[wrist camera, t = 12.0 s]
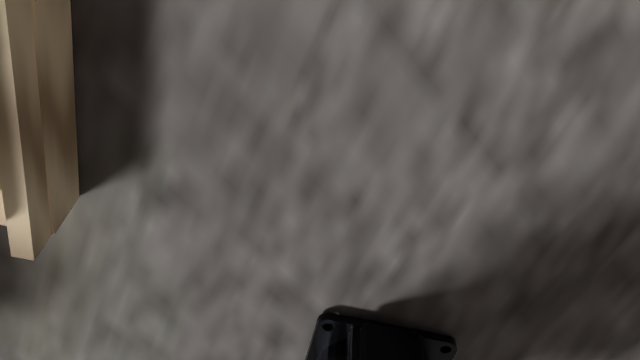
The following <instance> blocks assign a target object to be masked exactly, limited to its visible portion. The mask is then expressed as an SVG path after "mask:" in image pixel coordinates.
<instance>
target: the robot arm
mask: <svg viewBox="0 0 640 360" xmlns="http://www.w3.org/2000/svg"><path fill="white" fill-rule="evenodd" d="M456 350H457V347H456V341H455V339H454V338H453V337H450V336H447V335H442V334H436V333H431V332H426V331H421V330H415V329H410V328H405V327H400V326H395V325H389V324H384V323H379V322H374V321H369V320H363V319H358V318H353V317H348V316H342V315H337V314H332V313H324V314H321V315H320V316H319V317H318V319H317V322H316V326H315V329H314V332H313V336H312V339H311V342H310V346H309V349H308V352H307V356H306V359H305V360H452V359H453V357H454V355H455V353H456Z"/></svg>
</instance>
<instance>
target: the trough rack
mask: <svg viewBox="0 0 640 360" xmlns="http://www.w3.org/2000/svg"><path fill="white" fill-rule="evenodd" d="M78 198H79V175H78V153H77V131H76V110H75V88H74V66H73V45H72V23H71V1H70V0H0V225H4V226H7V231H8V238H9V245H10V252H11V256H12V257H17V258H23V259H28V260H33V261H34V260H35V258H36V257H37V255H38V254H39V252H40V251H41V249H42V248H43V246H44V245H45V243H46V242H47V240H48V239H49V237H50V236H51V235H54V234H55V233H56V231H57V230H58V228H59V227H60V225H61V224H62V222H63V221H64V219H65V218H66V216H67V215H68V213H69V212H70V210H71V209H72V207H73V206H74V204H75V203H76V201H77V200H78Z"/></svg>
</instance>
